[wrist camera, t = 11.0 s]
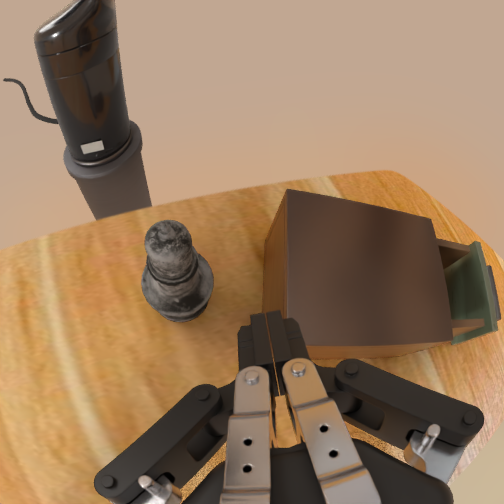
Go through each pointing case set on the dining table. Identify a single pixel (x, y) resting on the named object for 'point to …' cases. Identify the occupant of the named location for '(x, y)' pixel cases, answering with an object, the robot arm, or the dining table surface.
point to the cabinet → (355, 278)
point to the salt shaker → (175, 273)
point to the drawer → (469, 291)
